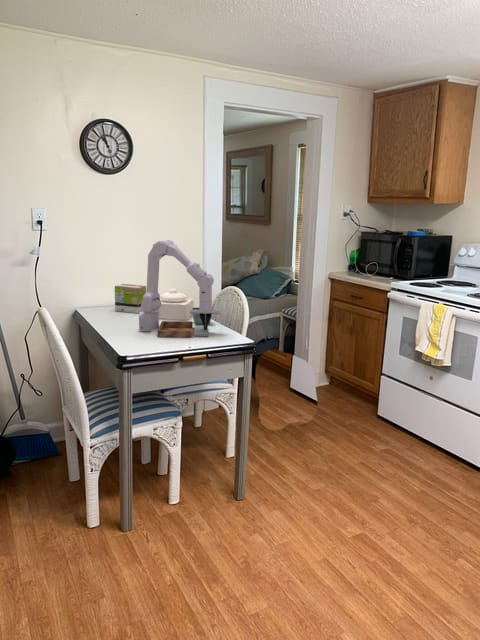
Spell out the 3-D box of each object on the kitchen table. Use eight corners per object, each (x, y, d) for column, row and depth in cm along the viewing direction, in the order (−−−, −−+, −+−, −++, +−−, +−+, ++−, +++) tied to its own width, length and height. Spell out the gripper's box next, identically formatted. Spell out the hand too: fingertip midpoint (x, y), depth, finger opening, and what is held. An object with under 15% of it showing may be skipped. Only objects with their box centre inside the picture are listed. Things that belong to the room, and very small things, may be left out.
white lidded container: (193, 314, 284) (193, 286, 280) (186, 321, 266) (186, 291, 263) (163, 312, 286) (163, 285, 282) (153, 319, 268) (153, 289, 265)
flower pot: (194, 328, 249) (194, 310, 247) (191, 324, 258) (191, 307, 256) (211, 328, 252) (212, 310, 250) (208, 324, 260) (208, 307, 258)
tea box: (114, 311, 285) (113, 285, 282) (123, 308, 294) (122, 283, 291) (138, 313, 281) (138, 287, 278) (146, 310, 290) (146, 285, 287)
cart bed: (157, 340, 225) (157, 330, 224) (161, 330, 245) (161, 320, 244) (193, 341, 226) (193, 331, 225) (194, 330, 246) (195, 321, 245)
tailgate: (194, 334, 227) (207, 333, 227) (195, 325, 244) (207, 325, 244) (194, 338, 228) (207, 337, 228) (195, 329, 244) (208, 329, 244)
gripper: (189, 302, 228) (189, 331, 231) (221, 302, 229) (221, 331, 232) (190, 299, 235) (190, 327, 238) (221, 299, 236) (220, 328, 239)
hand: (205, 329), depth 236 cm, fingers closed, pressing on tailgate
